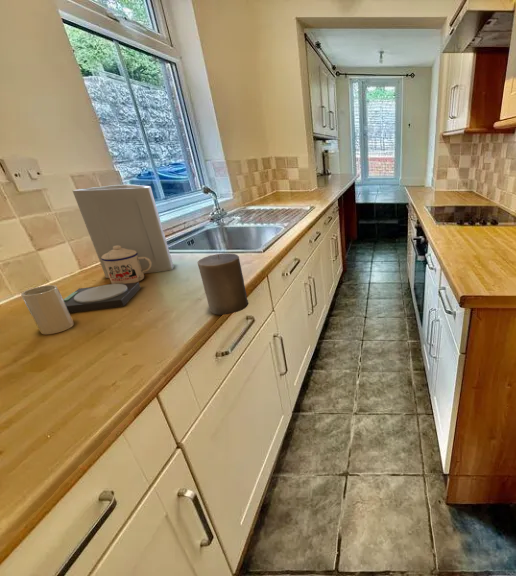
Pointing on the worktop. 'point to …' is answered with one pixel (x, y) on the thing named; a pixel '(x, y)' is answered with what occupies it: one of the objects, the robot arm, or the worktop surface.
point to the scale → (101, 297)
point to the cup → (48, 309)
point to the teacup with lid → (124, 265)
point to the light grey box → (125, 223)
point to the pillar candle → (223, 283)
